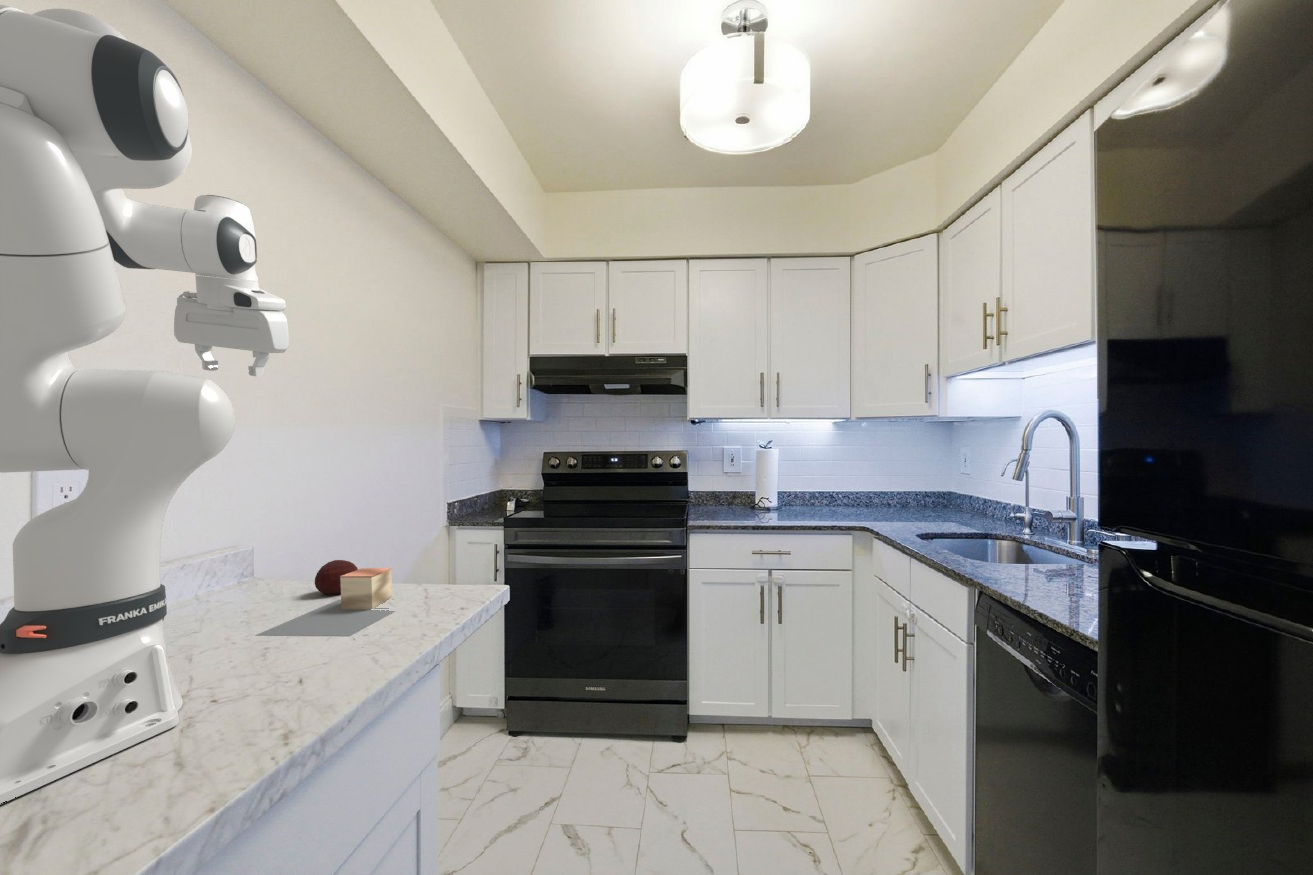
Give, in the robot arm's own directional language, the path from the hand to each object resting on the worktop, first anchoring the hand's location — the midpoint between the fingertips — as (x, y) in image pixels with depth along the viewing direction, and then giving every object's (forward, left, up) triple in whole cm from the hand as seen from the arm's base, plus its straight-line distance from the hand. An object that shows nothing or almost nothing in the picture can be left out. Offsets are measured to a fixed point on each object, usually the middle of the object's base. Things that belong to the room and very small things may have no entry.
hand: (233, 373), depth 100 cm
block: (+4, -22, -44) cm, 49 cm away
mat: (-3, -22, -44) cm, 49 cm away
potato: (+12, -10, -44) cm, 47 cm away
